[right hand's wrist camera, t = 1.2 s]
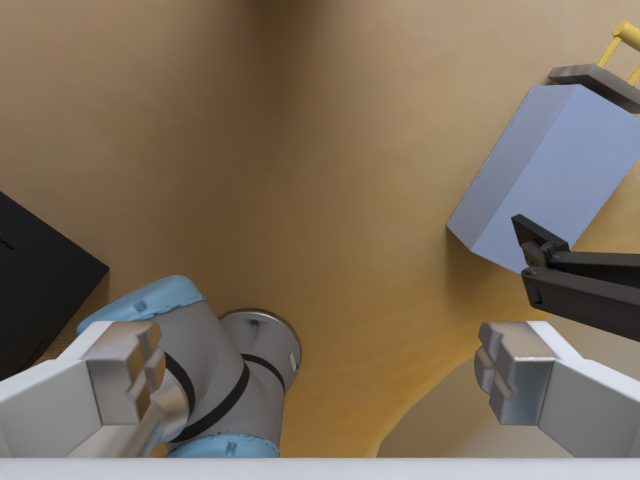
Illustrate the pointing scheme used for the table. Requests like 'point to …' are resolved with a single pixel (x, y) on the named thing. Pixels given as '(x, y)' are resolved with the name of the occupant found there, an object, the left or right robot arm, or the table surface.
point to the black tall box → (37, 285)
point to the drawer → (606, 73)
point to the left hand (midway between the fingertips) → (604, 195)
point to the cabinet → (547, 171)
